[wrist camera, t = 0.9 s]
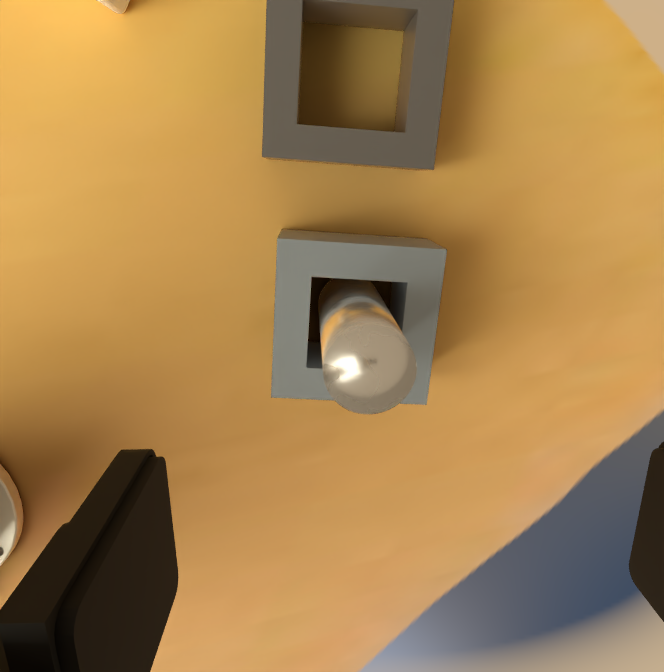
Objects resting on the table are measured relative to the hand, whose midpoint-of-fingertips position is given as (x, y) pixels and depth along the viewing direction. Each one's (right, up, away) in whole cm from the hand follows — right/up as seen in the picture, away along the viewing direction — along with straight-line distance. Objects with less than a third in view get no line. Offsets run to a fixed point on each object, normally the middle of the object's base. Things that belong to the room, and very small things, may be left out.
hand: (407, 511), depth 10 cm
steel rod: (0, +5, +24) cm, 24 cm away
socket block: (0, +5, +24) cm, 24 cm away
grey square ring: (0, +18, +20) cm, 27 cm away
